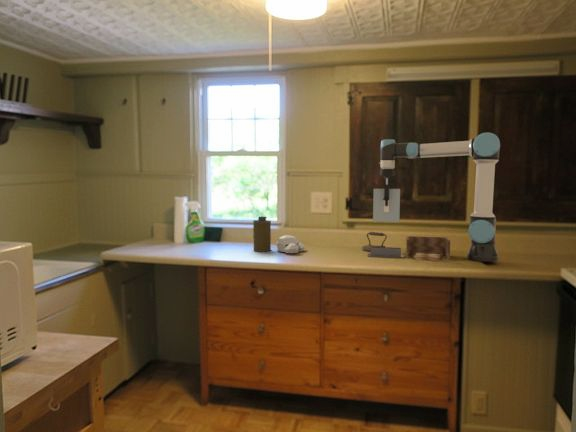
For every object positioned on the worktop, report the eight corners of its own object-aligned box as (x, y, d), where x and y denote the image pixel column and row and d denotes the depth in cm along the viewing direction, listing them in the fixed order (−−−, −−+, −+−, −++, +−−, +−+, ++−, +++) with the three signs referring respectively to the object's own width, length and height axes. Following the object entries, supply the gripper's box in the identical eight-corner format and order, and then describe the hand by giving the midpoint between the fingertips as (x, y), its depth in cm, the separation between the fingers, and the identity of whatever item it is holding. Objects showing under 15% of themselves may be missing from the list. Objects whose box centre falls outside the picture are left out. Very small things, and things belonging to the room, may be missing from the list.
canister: (274, 250, 276) (274, 216, 275) (264, 252, 268) (264, 217, 266) (259, 248, 282) (259, 215, 281) (249, 250, 273) (249, 216, 272)
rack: (446, 255, 258) (447, 237, 258) (449, 259, 244) (450, 240, 243) (405, 253, 263) (406, 236, 263) (406, 257, 249) (407, 239, 248)
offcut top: (440, 256, 244) (440, 254, 243) (439, 258, 239) (439, 255, 239) (416, 255, 248) (416, 252, 248) (415, 256, 244) (415, 254, 244)
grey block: (403, 255, 256) (403, 247, 256) (403, 258, 248) (403, 249, 248) (368, 254, 260) (368, 246, 260) (367, 256, 252) (367, 248, 252)
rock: (308, 249, 279) (308, 233, 278) (299, 254, 259) (299, 237, 259) (279, 248, 284) (279, 232, 283) (268, 253, 264) (268, 236, 264)
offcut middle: (439, 258, 245) (439, 256, 244) (439, 260, 240) (439, 257, 240) (414, 257, 248) (414, 255, 248) (413, 258, 244) (413, 256, 244)
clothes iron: (386, 249, 274) (387, 232, 268) (386, 258, 266) (387, 241, 260) (362, 247, 277) (363, 230, 271) (361, 256, 268) (362, 239, 263)
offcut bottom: (441, 260, 245) (441, 258, 245) (442, 262, 240) (442, 260, 240) (414, 259, 248) (414, 257, 248) (414, 261, 244) (414, 258, 243)
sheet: (399, 222, 252) (400, 188, 251) (399, 222, 250) (400, 188, 249) (373, 221, 256) (373, 188, 254) (373, 221, 253) (373, 188, 252)
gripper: (380, 168, 259) (379, 210, 261) (379, 168, 244) (378, 212, 246) (394, 168, 257) (393, 211, 259) (394, 168, 242) (393, 212, 244)
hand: (386, 211), depth 252 cm, fingers closed on sheet, 2 cm apart
